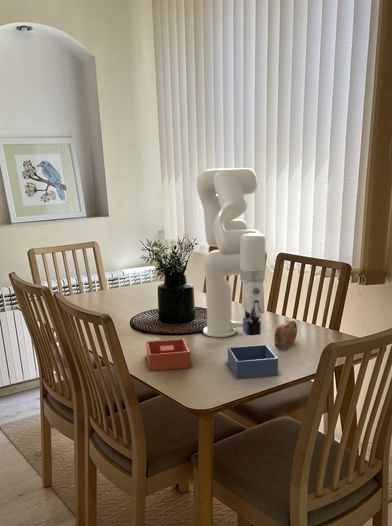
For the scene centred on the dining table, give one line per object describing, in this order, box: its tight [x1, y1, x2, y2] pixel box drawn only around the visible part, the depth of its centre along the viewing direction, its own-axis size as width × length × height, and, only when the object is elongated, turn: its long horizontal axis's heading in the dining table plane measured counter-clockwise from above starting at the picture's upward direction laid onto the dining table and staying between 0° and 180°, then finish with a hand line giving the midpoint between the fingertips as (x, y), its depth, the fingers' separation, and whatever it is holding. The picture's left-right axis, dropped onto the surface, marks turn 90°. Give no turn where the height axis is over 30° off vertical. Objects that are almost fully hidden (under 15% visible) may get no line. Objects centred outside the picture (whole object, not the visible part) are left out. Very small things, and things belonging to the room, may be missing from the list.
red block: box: [160, 345, 175, 353], centre depth 183 cm, size 4×4×4 cm
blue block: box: [242, 316, 262, 336], centre depth 172 cm, size 4×4×4 cm
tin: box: [274, 320, 298, 351], centre depth 195 cm, size 15×3×8 cm, turn 148°
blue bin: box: [227, 344, 279, 379], centre depth 176 cm, size 13×13×6 cm
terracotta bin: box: [145, 338, 191, 372], centre depth 183 cm, size 13×13×6 cm
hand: (251, 331), depth 172 cm, fingers closed on blue block, 4 cm apart
